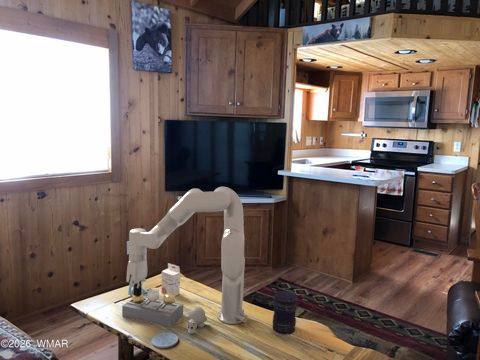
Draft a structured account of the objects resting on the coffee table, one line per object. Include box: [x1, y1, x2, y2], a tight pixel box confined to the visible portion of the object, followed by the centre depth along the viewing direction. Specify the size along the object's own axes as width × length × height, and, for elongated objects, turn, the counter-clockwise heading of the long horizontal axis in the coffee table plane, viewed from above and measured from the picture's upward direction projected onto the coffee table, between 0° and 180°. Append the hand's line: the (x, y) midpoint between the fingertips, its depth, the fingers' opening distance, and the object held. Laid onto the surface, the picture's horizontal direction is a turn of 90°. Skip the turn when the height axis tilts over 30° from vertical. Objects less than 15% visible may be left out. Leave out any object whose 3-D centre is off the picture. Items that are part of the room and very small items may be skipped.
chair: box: [127, 278, 148, 297], centre depth 190 cm, size 8×8×12 cm
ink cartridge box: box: [161, 262, 181, 297], centre depth 190 cm, size 9×5×15 cm, turn 58°
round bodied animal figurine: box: [186, 306, 208, 335], centre depth 158 cm, size 7×12×8 cm, turn 159°
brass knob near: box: [162, 293, 176, 304], centre depth 165 cm, size 5×5×3 cm
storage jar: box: [272, 290, 298, 336], centre depth 161 cm, size 10×10×15 cm
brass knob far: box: [131, 293, 145, 304], centre depth 170 cm, size 5×5×3 cm
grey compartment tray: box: [121, 295, 184, 328], centre depth 168 cm, size 24×12×6 cm, turn 72°
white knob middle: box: [147, 287, 160, 301], centre depth 167 cm, size 5×5×4 cm
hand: (137, 295), depth 170 cm, fingers closed
